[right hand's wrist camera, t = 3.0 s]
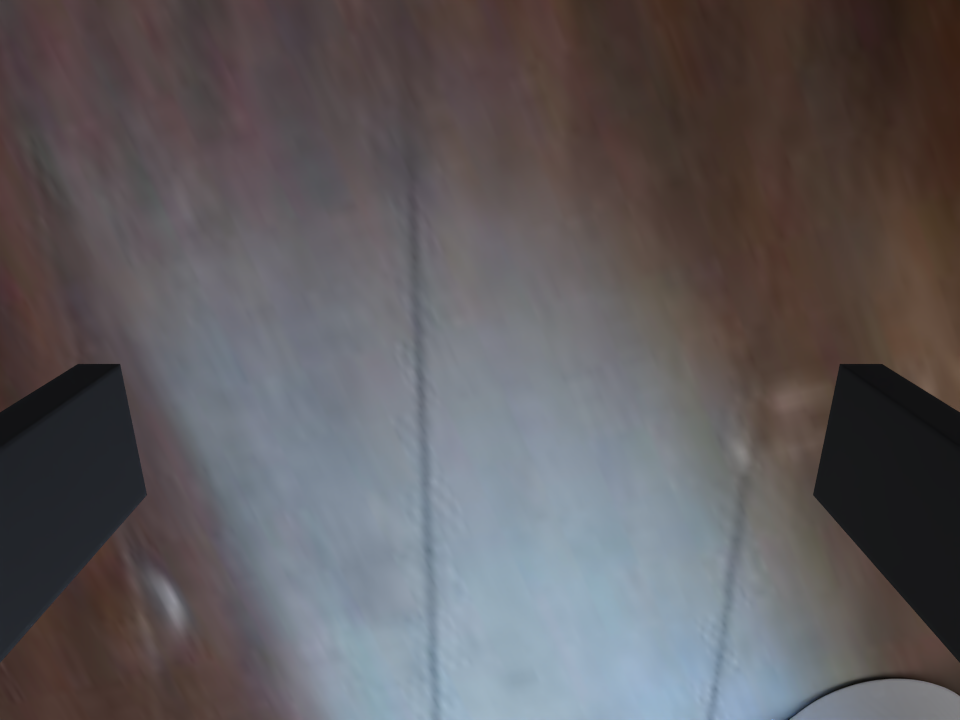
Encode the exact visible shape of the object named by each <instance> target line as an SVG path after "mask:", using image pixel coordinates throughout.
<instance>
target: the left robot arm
mask: <svg viewBox="0 0 960 720" xmlns="http://www.w3.org/2000/svg"><path fill="white" fill-rule="evenodd" d="M790 720H960V696H959V695H958V694H956V693H954V692H953V691H951V690H949V689H947V688H945V687H942V686H939V685H936V684H933V683H929V682H925V681H920V680H912V679H882V680H874V681H868V682H863V683H859V684H855V685H852V686H848V687H845V688H842V689H840V690H837V691H835V692H832V693H830V694H828V695H826V696H824V697H822V698H820V699H818V700H816V701H815V702H813V703H811V704H810V705H808V706H807V707H806V708H804V709H803V710H801V711H800V712H799V713H798V714H796V715H795V716H794V717H792V718H791V719H790Z"/></svg>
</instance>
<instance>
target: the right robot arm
mask: <svg viewBox="0 0 960 720" xmlns="http://www.w3.org/2000/svg"><path fill="white" fill-rule="evenodd" d="M146 495H147V493H146V488H145V484H144V479H143V474H142V469H141V464H140V459H139V454H138V449H137V445H136V440H135V435H134V430H133V425H132V420H131V415H130V410H129V406H128V401H127V396H126V391H125V386H124V381H123V376H122V371H121V366H120V364H77V365H76V366H74V367H73V368H71V369H69V370H68V371H66V372H65V373H63V374H61V375H60V376H58V377H57V378H55V379H53V380H52V381H50V382H48V383H47V384H45V385H44V386H42V387H40V388H39V389H37V390H36V391H34V392H32V393H31V394H29V395H28V396H26V397H24V398H23V399H21V400H20V401H18V402H16V403H15V404H13V405H11V406H10V407H8V408H7V409H5V410H3V411H2V412H0V662H1V661H2V660H3V659H4V658H5V656H6V655H7V654H8V653H9V652H10V651H11V650H12V648H13V647H14V646H15V645H16V644H17V643H18V642H19V640H20V639H21V638H22V637H23V636H24V635H25V634H26V632H27V631H28V630H29V629H30V628H31V627H32V626H33V624H34V623H35V622H36V621H37V620H38V619H39V618H40V616H41V615H42V614H43V613H44V612H45V611H46V610H47V608H48V607H49V606H50V605H51V604H52V603H53V602H54V600H55V599H56V598H57V597H58V596H59V595H60V594H61V592H62V591H63V590H64V589H65V588H66V587H67V586H68V584H69V583H70V582H71V581H72V580H73V579H74V578H75V576H76V575H77V574H78V573H79V572H80V571H81V570H82V568H83V567H84V566H85V565H86V564H87V563H88V562H89V560H90V559H91V558H92V557H93V556H94V555H95V554H96V552H97V551H98V550H99V549H100V548H101V547H102V546H103V544H104V543H105V542H106V541H107V540H108V539H109V538H110V536H111V535H112V534H113V533H114V532H115V531H116V530H117V528H118V527H119V526H120V525H121V524H122V523H123V522H124V520H125V519H126V518H127V517H128V516H129V515H130V514H131V512H132V511H133V510H134V509H135V508H136V507H137V506H138V504H139V503H140V502H141V501H142V500H143V499H144V498H145V496H146ZM813 495H814V496H815V498H816V499H817V500H818V501H819V502H820V503H821V504H822V506H823V507H824V508H825V509H826V510H827V511H828V512H829V514H830V515H831V516H832V517H833V518H834V519H835V520H836V522H837V523H838V524H839V525H840V526H841V527H842V528H843V530H844V531H845V532H846V533H847V534H848V535H849V536H850V538H851V539H852V540H853V541H854V542H855V543H856V544H857V546H858V547H859V548H860V549H861V550H862V551H863V552H864V554H865V555H866V556H867V557H868V558H869V559H870V560H871V562H872V563H873V564H874V565H875V566H876V567H877V568H878V570H879V571H880V572H881V573H882V574H883V575H884V576H885V578H886V579H887V580H888V581H889V582H890V583H891V584H892V586H893V587H894V588H895V589H896V590H897V591H898V592H899V594H900V595H901V596H902V597H903V598H904V599H905V600H906V602H907V603H908V604H909V605H910V606H911V607H912V608H913V610H914V611H915V612H916V613H917V614H918V615H919V616H920V618H921V619H922V620H923V621H924V622H925V623H926V624H927V626H928V627H929V628H930V629H931V630H932V631H933V632H934V634H935V635H936V636H937V637H938V638H939V639H940V640H941V642H942V643H943V644H944V645H945V646H946V647H947V648H948V650H949V651H950V652H951V653H952V654H953V655H954V656H955V658H956V659H957V660H958V661H959V662H960V412H958V411H957V410H955V409H953V408H952V407H950V406H949V405H947V404H945V403H944V402H942V401H940V400H939V399H937V398H936V397H934V396H932V395H931V394H929V393H928V392H926V391H924V390H923V389H921V388H920V387H918V386H916V385H915V384H913V383H912V382H910V381H908V380H907V379H905V378H903V377H902V376H900V375H899V374H897V373H895V372H894V371H892V370H891V369H889V368H887V367H886V366H884V365H883V364H840V366H839V371H838V376H837V381H836V386H835V391H834V396H833V401H832V406H831V410H830V415H829V420H828V425H827V430H826V435H825V440H824V445H823V449H822V454H821V459H820V464H819V469H818V474H817V479H816V484H815V488H814V493H813Z"/></svg>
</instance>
